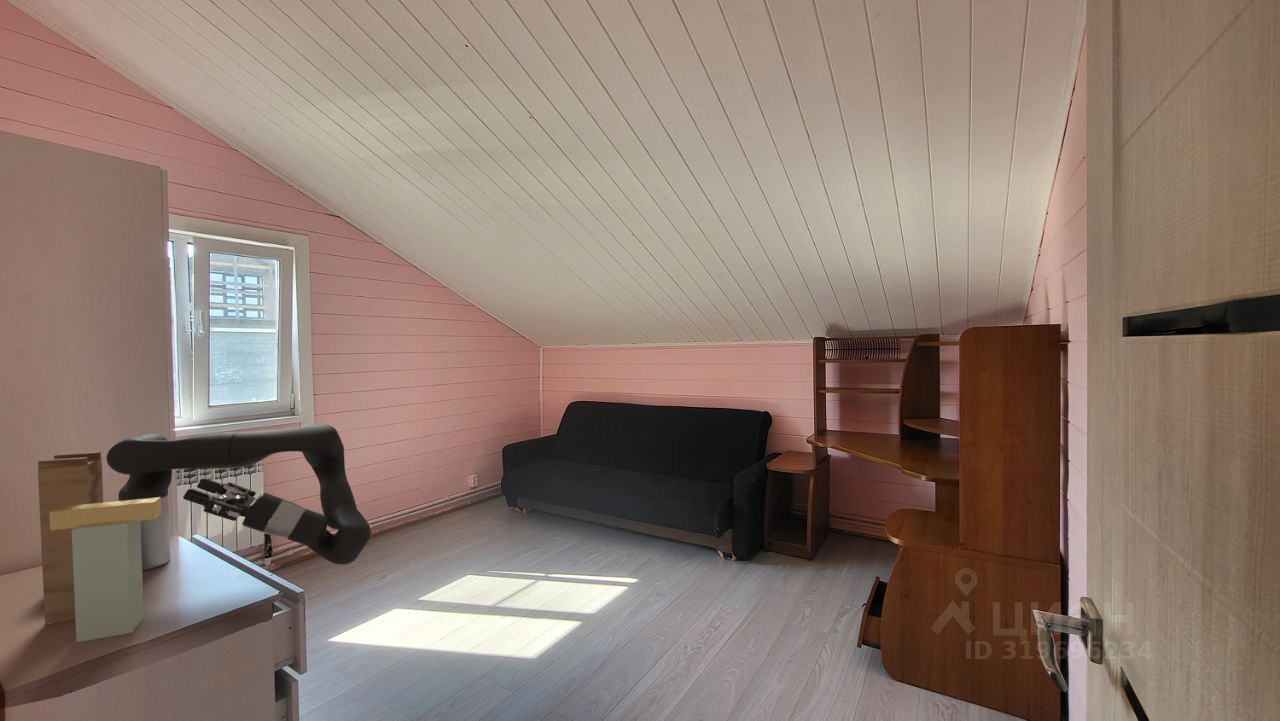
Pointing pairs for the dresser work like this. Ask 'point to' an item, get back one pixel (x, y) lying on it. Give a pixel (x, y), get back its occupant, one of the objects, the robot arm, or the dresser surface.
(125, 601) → the block
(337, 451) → the robot arm
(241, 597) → the dresser surface
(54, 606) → the stand
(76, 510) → the rail
